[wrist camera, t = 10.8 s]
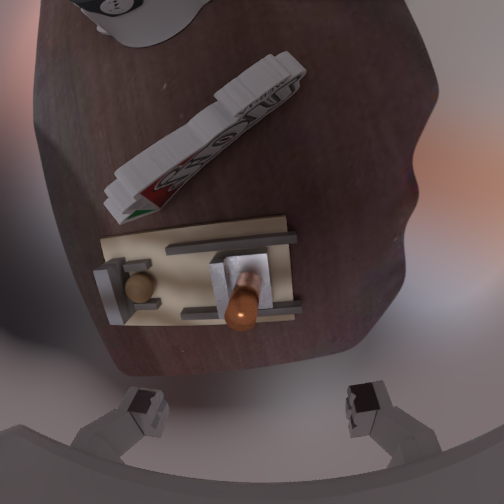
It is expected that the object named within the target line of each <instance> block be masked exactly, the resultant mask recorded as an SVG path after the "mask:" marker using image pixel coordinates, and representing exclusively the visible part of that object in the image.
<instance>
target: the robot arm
mask: <svg viewBox="0 0 504 504" xmlns="http://www.w3.org/2000/svg"><path fill="white" fill-rule="evenodd" d="M70 1H72V2H73V3H74V5H76V6H77V7H81V11H82V12H83V13H84V14H85V15H86V16H88V17H89V18H90V19H91V20H92V21H94V22H95V23H96V24H97V30H98V31H99V32H100V33H101V34H104V35H111V36H113V37H114V38H115V39H116V40H117V41H118V42H119V43H121V44H123V45H125V46H129V47H146V46H151V45H154V44H157V43H160V42H162V41H165V40H167V39H169V38H170V37H172V36H174V35H175V34H177V33H178V32H180V31H181V30H182V29H184V28H185V27H186V26H187V25H188V24H189V23H190V22H191V21H192V20H193V18H194V17H195V16H196V14H197V13H198V11H199V10H200V9H201V7H202V6H203V5H204V4H206V3H207V2H209V1H210V0H70ZM347 394H348V397H347V398H346V416H347V419H348V420H350V421H349V426H348V427H349V432H350V436H351V438H353V437H361V436H367V435H370V437H371V438H372V439H374V440H375V441H376V442H377V443H378V444H379V445H380V446H381V447H382V448H383V449H384V450H385V451H386V452H387V453H388V454H389V455H391V456H392V459H391V461H390V463H389V465H388V467H387V468H386V469H383V470H378V471H373V472H368V473H363V474H358V475H352V476H346V477H339V478H332V479H324V480H313V481H302V482H280V483H249V482H228V481H215V480H205V479H196V478H189V477H182V476H176V475H170V474H165V473H159V472H154V471H150V470H145V469H141V468H136V467H132V466H129V465H125V463H124V462H123V461H122V460H121V459H120V456H122V455H123V454H124V453H125V452H126V451H128V450H129V449H130V448H131V447H132V446H134V444H136V443H137V442H138V441H139V440H141V439H142V438H143V437H144V435H145V436H151V437H158V438H160V437H161V435H162V432H163V429H164V425H163V423H164V422H165V421H167V419H168V416H169V406H168V403H167V402H166V401H165V400H164V399H163V396H164V395H163V393H162V391H161V390H154V389H148V388H140V387H133V386H132V387H130V388H129V389H128V392H127V393H126V395H125V397H124V398H123V400H122V402H121V404H120V405H119V407H118V409H114V410H112V411H111V412H109V413H107V414H106V415H104V416H102V417H100V418H99V419H97V420H95V421H93V422H92V423H90V424H89V425H87V426H85V427H83V428H81V429H80V430H79V432H78V433H77V435H76V437H75V438H74V440H73V442H72V443H71V445H70V446H68V445H66V444H63V443H61V442H58V441H56V440H54V439H51V438H49V437H47V436H45V435H43V434H40V433H39V432H37V431H35V430H32V429H30V428H28V427H26V426H25V425H20V424H19V425H16V426H13V427H10V428H8V429H5V430H3V431H1V432H0V504H504V424H503V425H501V426H500V427H498V428H495V429H494V430H492V431H490V432H488V433H485V434H483V435H481V436H479V437H477V438H475V439H473V440H470V441H468V442H466V443H463V444H461V445H459V446H456V447H454V448H451V449H449V450H446V451H443V452H442V450H441V447H440V445H439V442H438V440H437V437H436V435H435V433H434V431H433V430H432V429H430V428H429V427H427V426H426V425H424V424H423V423H421V422H419V421H418V420H416V419H415V418H413V417H412V416H410V415H409V414H407V413H405V412H404V411H403V410H401V409H400V408H398V407H397V406H395V407H393V405H392V402H391V400H390V397H389V394H388V392H387V389H386V387H385V384H384V382H383V381H382V380H381V381H376V382H371V383H370V382H369V383H364V384H359V385H351V386H348V389H347Z"/></svg>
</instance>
